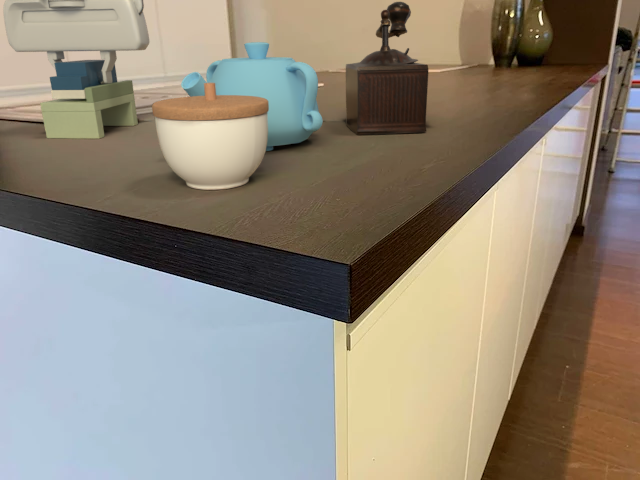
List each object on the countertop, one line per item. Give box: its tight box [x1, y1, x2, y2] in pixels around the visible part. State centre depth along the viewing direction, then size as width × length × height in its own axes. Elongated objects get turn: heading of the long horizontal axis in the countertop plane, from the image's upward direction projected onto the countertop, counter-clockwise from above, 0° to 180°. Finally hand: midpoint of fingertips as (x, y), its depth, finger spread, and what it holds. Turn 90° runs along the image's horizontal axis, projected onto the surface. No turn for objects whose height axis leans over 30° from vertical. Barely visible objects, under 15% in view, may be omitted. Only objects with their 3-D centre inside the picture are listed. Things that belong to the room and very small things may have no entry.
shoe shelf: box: [39, 79, 139, 140], centre depth 82 cm, size 8×13×7 cm, turn 174°
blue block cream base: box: [49, 59, 118, 100], centre depth 80 cm, size 11×5×5 cm, turn 174°
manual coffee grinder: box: [345, 1, 429, 135], centre depth 81 cm, size 16×11×18 cm
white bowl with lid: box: [151, 83, 269, 191], centre depth 51 cm, size 11×11×9 cm
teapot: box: [180, 41, 324, 152], centre depth 68 cm, size 20×20×13 cm
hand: (86, 83), depth 81 cm, fingers closed on blue block cream base, 4 cm apart
